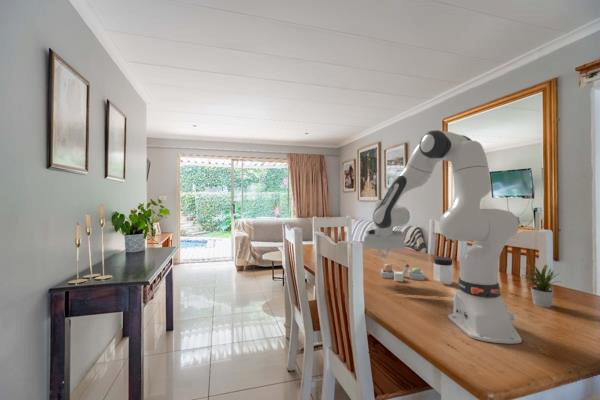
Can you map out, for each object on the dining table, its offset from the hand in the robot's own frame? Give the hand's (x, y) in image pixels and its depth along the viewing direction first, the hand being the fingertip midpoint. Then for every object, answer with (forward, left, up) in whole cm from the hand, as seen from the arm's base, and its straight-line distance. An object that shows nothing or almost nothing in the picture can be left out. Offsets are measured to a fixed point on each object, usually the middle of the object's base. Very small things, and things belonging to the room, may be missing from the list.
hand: (383, 257), depth 144 cm
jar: (+5, -29, -13) cm, 32 cm away
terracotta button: (+6, -3, -9) cm, 11 cm away
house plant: (-18, -59, -13) cm, 63 cm away
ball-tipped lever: (+6, -10, -11) cm, 16 cm away
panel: (+3, -10, -12) cm, 16 cm away
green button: (+6, -17, -10) cm, 21 cm away
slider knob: (0, -7, -11) cm, 13 cm away
